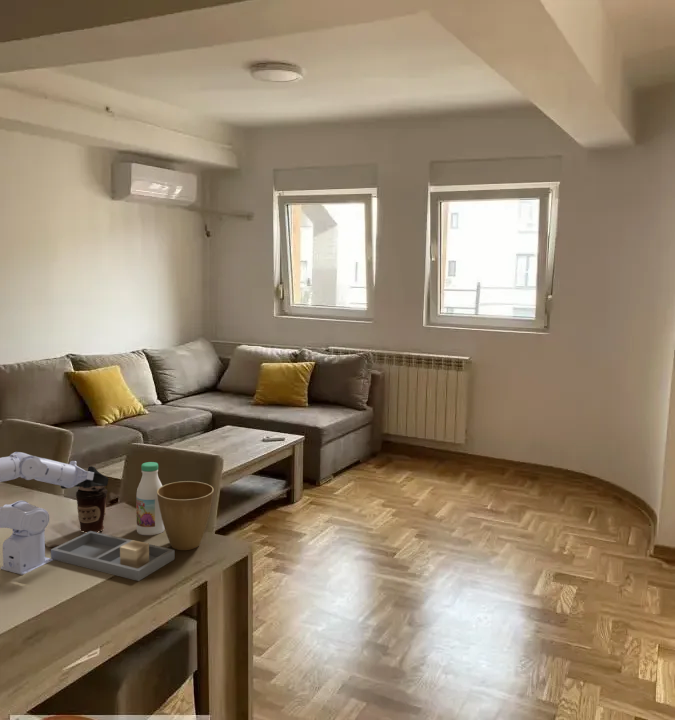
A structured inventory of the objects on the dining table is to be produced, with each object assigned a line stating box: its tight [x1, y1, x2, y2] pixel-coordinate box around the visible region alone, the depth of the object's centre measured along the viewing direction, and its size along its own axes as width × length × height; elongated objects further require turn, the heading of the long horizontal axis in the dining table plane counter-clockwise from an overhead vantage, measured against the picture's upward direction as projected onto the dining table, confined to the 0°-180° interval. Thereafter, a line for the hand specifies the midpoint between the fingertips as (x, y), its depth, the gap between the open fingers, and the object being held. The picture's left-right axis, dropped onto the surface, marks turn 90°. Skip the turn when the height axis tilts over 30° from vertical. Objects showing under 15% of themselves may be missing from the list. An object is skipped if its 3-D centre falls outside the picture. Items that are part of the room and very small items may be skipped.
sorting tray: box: [50, 531, 176, 582], centre depth 180 cm, size 14×28×3 cm, turn 66°
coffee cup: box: [75, 486, 108, 532], centre depth 198 cm, size 9×8×13 cm
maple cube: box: [120, 539, 150, 569], centre depth 177 cm, size 5×5×5 cm
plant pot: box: [157, 480, 215, 551], centre depth 189 cm, size 15×15×16 cm
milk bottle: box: [135, 461, 165, 536], centre depth 198 cm, size 8×8×20 cm
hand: (97, 482), depth 190 cm, fingers open, 7 cm apart
